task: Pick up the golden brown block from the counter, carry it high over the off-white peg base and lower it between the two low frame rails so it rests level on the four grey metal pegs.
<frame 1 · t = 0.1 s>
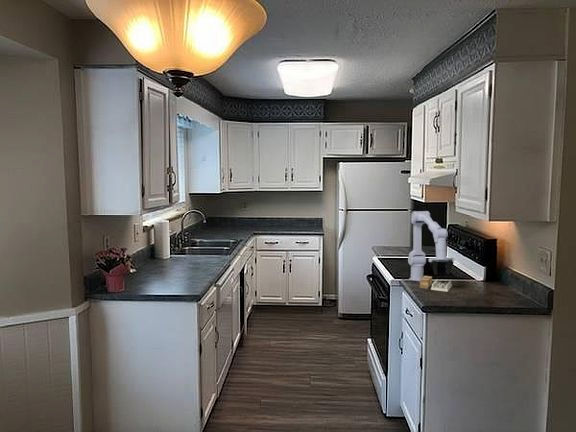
hand: (442, 274, 252), 10 cm above the worktop, tool pointing down, fingers open, 7 cm apart
peg base: (441, 287, 263), on the worktop
golden brown block: (425, 286, 267), on the worktop
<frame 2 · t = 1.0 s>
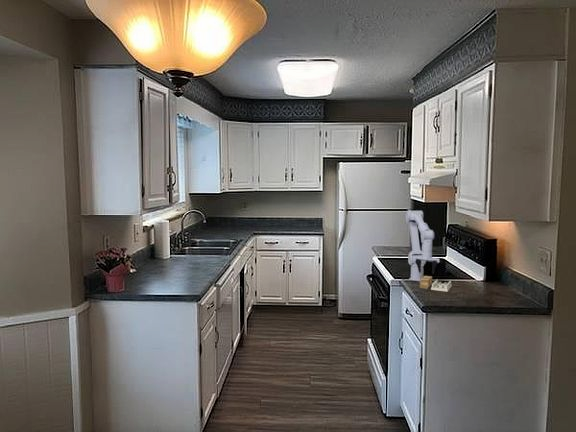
hand: (426, 273, 266), 8 cm above the worktop, tool pointing down, fingers open, 7 cm apart
nothing on the worktop moved.
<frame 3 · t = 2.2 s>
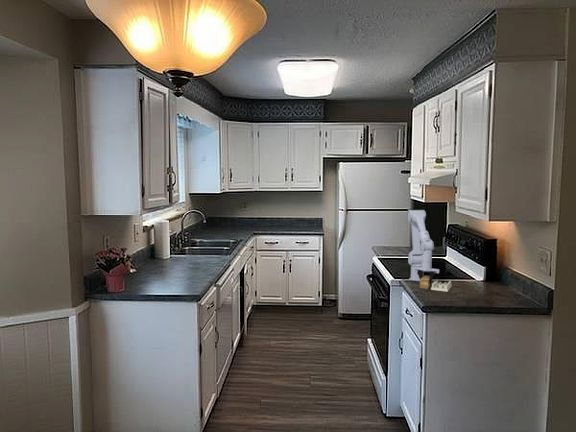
hand: (426, 283, 267), 1 cm above the worktop, tool pointing down, fingers closed on golden brown block, 4 cm apart
golden brown block: (425, 286, 267), on the worktop, touching gripper
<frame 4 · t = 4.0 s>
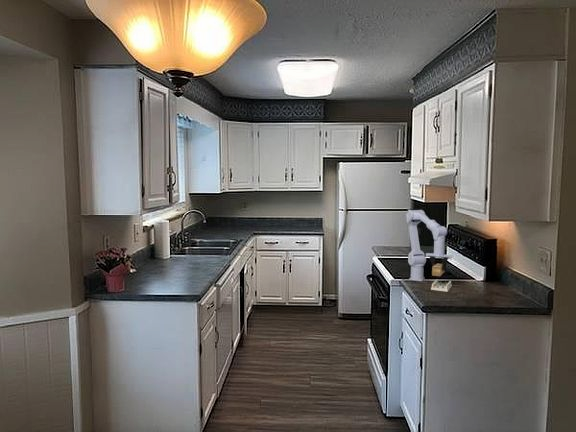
hand: (438, 269, 263), 10 cm above the worktop, tool pointing down, fingers closed on golden brown block, 4 cm apart
golden brown block: (438, 273, 263), point 8 cm above the worktop, touching gripper
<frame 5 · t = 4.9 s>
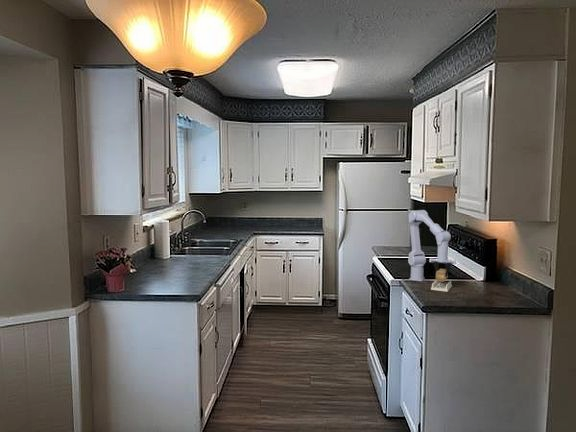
hand: (441, 275, 262), 8 cm above the worktop, tool pointing down, fingers closed on golden brown block, 4 cm apart
golden brown block: (441, 279, 262), point 5 cm above the worktop, touching gripper
when the fingers open (6 cm above the worktop, at t = 5.7 s): golden brown block drops 1 cm, resting on peg base.
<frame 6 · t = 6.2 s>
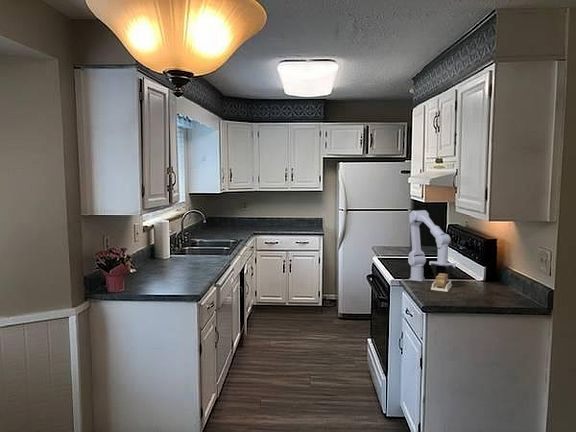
hand: (441, 278, 262), 6 cm above the worktop, tool pointing down, fingers open, 7 cm apart
golden brown block: (441, 283, 262), point 2 cm above the worktop, touching peg base
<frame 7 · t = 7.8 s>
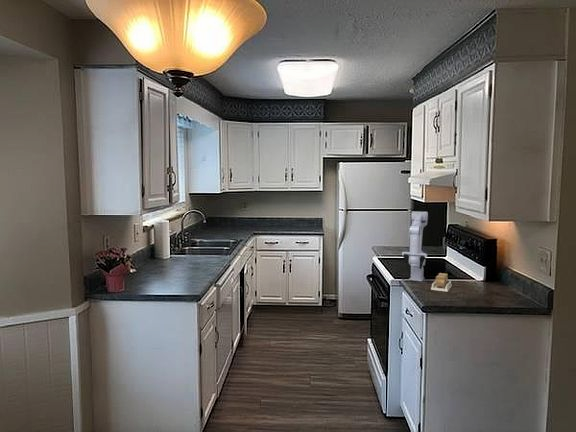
hand: (414, 268, 268), 10 cm above the worktop, tool pointing down, fingers open, 7 cm apart
nothing on the worktop moved.
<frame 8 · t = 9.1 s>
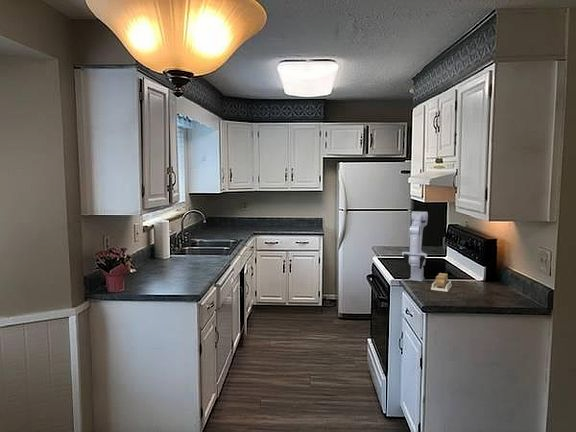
hand: (414, 268, 268), 10 cm above the worktop, tool pointing down, fingers open, 7 cm apart
nothing on the worktop moved.
at the end: golden brown block 0.3 cm off-centre on the peg base, point 2.5 cm above the peg base's base; golden brown block tilted 0°; the gripper is holding nothing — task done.
